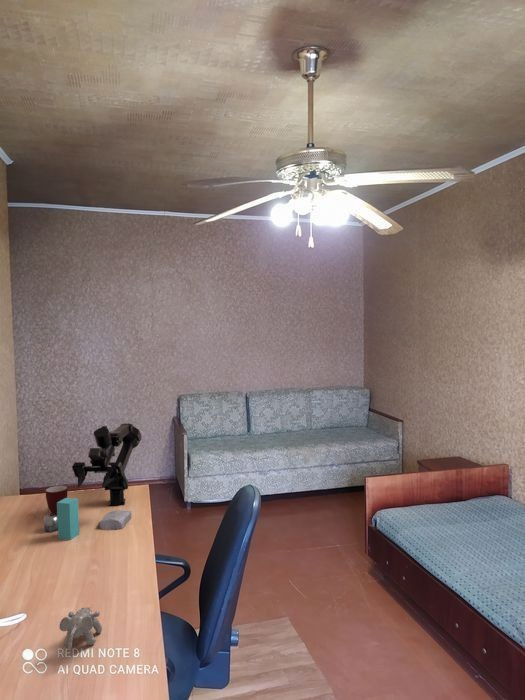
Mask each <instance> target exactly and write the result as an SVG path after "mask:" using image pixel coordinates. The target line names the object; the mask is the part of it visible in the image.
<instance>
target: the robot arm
mask: <svg viewBox="0 0 525 700" xmlns="http://www.w3.org/2000/svg"><path fill="white" fill-rule="evenodd" d="M93 436H94V439H95V440H94V441H95V443H96V447H90V449H89V452H88V454H87V455H88V456H87V457H88V458H89V459H90V461H89V463H90V465H86V463H85V462H82V461H81V462H78V461H77V462H76V461H75V462H74V463H73V464H72V466H71V468H72V470H73V471H72V472H73V475H74V477H76V478H77V487H78V488H80V487H81V486H82V485H83V484H84V481H85V480H86V478H87V477H86V476H87V475H88V473H91V472H92V473H93V472H94V474H105V475H104V476H103V481H102V484H101V486H102V488H103V489H104V490H105V491H109V501H108V507H115V506H121V505H125V504H126V498H125V492H124V491H126V490H128V489H129V481H128V478H127V477H126V473H125V471H126V467H127V465H128V462H129V460H130V457H131V455H132V452H133V450H134V449H135V448H136V447H138V446H139V444H140V443H141V441H142V433H141V431H140V429H139V428H137V427H135V426H134V424H133V423H127V422H126V423H120V425H119V426H118V427H117V428H116V429H114V430H113V431H110V430H109V428H108V426H107V425H102V426H101V427H100V428H97V429H95V430H94V432H93ZM121 444H122V445H121ZM120 446H121V448H120V451H119V453H118V456H117V458H116V459H115V462H114V461H113V462H112V458H113V457H115V456H116V453H115V451H116V448H118V447H120Z"/></svg>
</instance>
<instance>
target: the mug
mask: <svg viewBox="0 0 525 700" xmlns="http://www.w3.org/2000/svg"><path fill="white" fill-rule="evenodd" d="M65 498H68V486H66V485H54V486H49V487H47V488H46V489H45V500H46V503H47V509H48V510H49V512H50V513H51V514H57V502H59V501H61V500H63V499H65Z"/></svg>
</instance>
